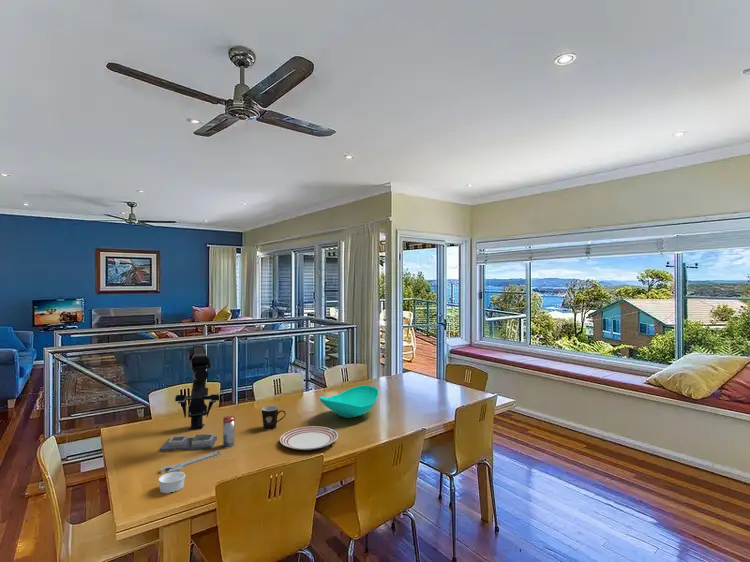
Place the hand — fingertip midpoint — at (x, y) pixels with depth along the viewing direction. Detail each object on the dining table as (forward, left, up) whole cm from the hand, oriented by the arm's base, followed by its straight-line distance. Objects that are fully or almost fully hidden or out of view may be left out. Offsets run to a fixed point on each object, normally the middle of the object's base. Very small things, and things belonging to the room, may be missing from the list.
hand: (196, 417), depth 188 cm
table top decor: (-35, +75, -14) cm, 83 cm away
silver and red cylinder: (0, +15, -14) cm, 20 cm away
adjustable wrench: (+18, +4, -14) cm, 23 cm away
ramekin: (+38, +2, -14) cm, 41 cm away
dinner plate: (+1, +52, -14) cm, 53 cm away
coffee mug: (-21, +33, -14) cm, 41 cm away
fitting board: (-3, -3, -14) cm, 14 cm away
